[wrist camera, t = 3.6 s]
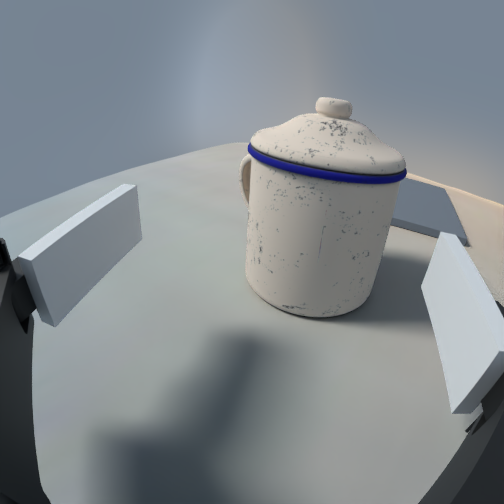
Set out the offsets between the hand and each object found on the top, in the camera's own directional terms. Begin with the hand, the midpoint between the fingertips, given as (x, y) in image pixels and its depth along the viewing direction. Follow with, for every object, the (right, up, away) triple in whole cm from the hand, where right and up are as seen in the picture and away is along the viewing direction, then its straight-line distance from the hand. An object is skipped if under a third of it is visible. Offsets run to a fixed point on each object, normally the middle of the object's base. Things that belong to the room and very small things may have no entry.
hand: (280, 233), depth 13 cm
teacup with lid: (+2, -2, +10) cm, 10 cm away
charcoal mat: (+15, +6, +25) cm, 29 cm away
